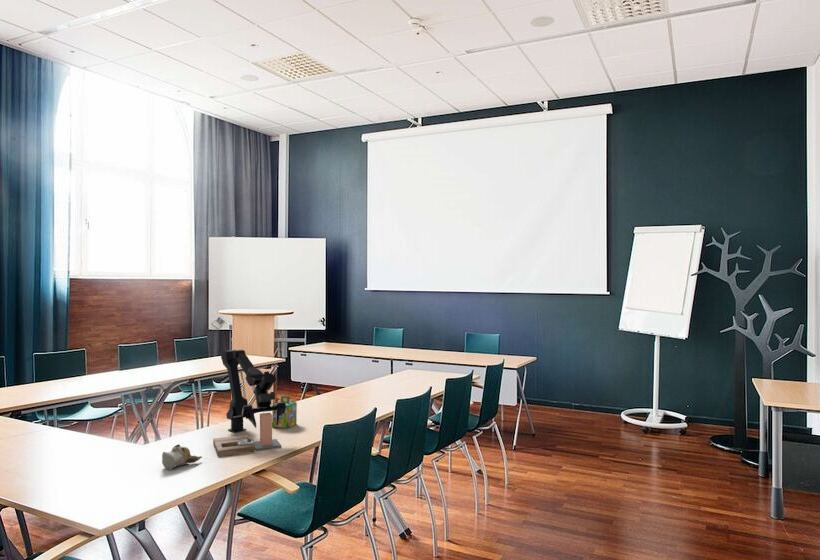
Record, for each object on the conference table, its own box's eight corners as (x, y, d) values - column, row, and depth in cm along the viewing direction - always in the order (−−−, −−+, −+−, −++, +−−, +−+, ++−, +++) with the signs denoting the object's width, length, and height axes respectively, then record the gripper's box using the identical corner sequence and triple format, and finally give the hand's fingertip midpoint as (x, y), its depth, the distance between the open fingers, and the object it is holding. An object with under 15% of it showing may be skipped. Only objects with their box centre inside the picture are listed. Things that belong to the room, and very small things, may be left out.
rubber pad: (251, 444, 257) (251, 442, 257) (276, 441, 261) (276, 439, 261) (255, 450, 247) (255, 448, 247) (281, 447, 251) (281, 445, 251)
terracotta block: (260, 443, 255) (259, 413, 255) (270, 441, 257) (270, 412, 257) (261, 445, 251) (261, 415, 251) (272, 444, 253) (272, 414, 253)
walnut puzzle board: (213, 444, 257) (213, 438, 257) (247, 440, 263) (247, 434, 263) (217, 456, 239) (217, 450, 239) (254, 452, 245) (254, 446, 245)
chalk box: (271, 427, 285) (271, 397, 285) (281, 423, 294) (280, 394, 294) (288, 429, 283) (288, 398, 283) (297, 424, 291) (297, 395, 291)
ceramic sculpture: (154, 446, 225) (185, 438, 238) (152, 468, 224) (184, 460, 237) (172, 450, 219) (203, 442, 233) (171, 473, 219) (202, 464, 232)
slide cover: (236, 441, 252) (236, 437, 252) (250, 439, 255) (250, 436, 255) (238, 445, 246) (238, 442, 246) (253, 444, 248) (253, 440, 248)
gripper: (242, 387, 254) (246, 418, 244) (285, 384, 261) (290, 413, 251) (240, 402, 261) (244, 432, 251) (281, 398, 269) (286, 427, 259)
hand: (266, 426), depth 253 cm, fingers open, 9 cm apart
